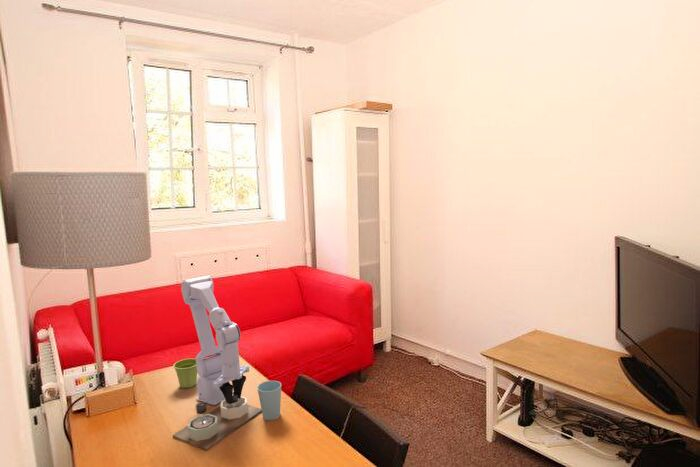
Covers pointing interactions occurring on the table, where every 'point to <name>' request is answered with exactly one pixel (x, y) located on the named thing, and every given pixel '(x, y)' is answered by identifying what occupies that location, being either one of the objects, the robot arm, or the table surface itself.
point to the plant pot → (186, 372)
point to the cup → (270, 399)
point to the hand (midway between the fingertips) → (233, 400)
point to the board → (219, 428)
